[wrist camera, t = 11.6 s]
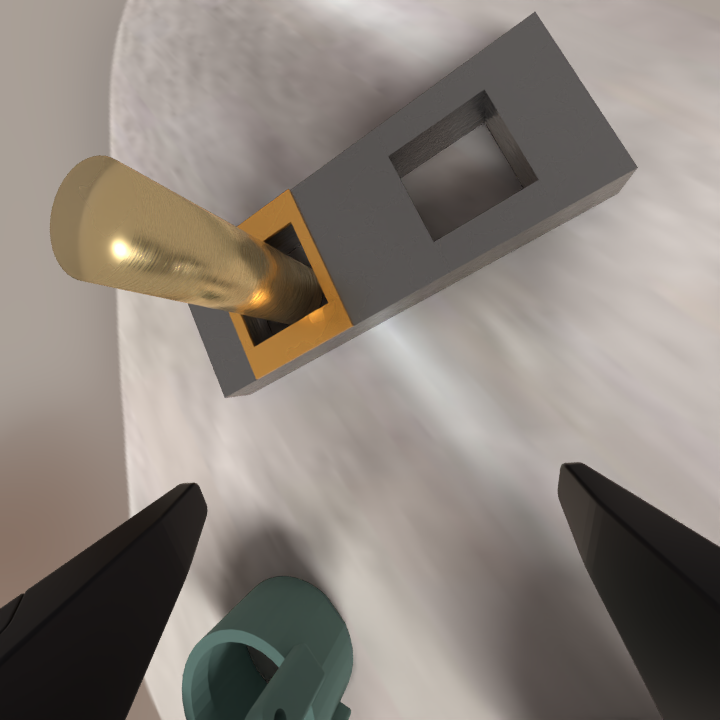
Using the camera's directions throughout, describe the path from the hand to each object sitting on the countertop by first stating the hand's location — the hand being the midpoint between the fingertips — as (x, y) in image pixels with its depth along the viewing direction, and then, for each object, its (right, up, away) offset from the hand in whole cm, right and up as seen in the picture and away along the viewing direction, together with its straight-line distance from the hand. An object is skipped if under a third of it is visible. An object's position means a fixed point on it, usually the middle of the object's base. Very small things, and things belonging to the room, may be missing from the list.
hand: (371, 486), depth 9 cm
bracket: (-4, -16, +15) cm, 22 cm away
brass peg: (-5, +7, +15) cm, 17 cm away
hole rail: (0, +10, +13) cm, 17 cm away
